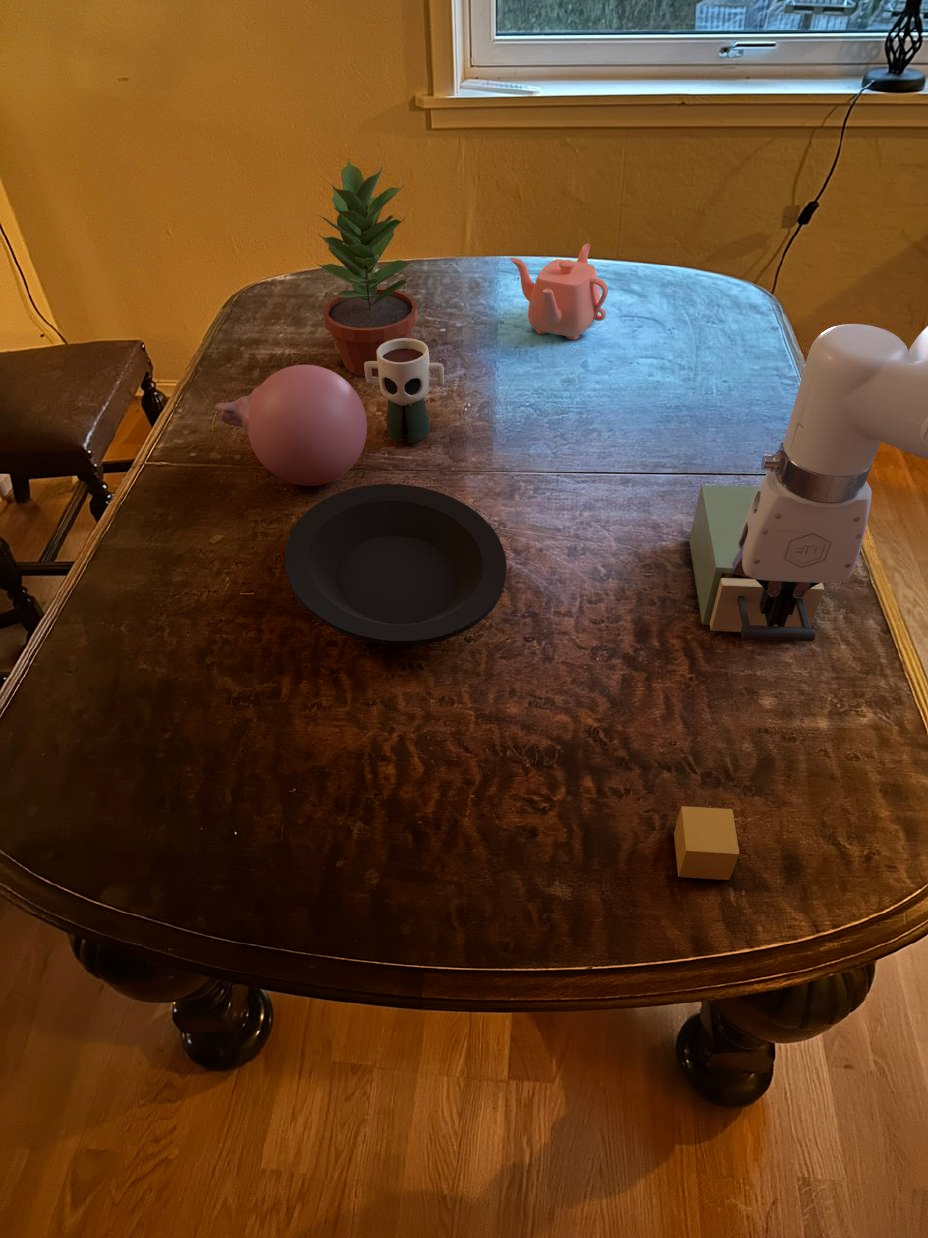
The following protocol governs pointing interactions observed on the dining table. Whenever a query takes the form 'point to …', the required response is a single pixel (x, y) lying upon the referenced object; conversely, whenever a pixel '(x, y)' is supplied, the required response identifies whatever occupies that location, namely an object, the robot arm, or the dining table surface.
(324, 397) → the balloon
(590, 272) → the teapot
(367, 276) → the potted plant
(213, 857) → the dining table surface
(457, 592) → the plate
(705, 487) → the cabinet
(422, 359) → the character mug
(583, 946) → the dining table surface
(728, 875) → the block
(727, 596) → the drawer
